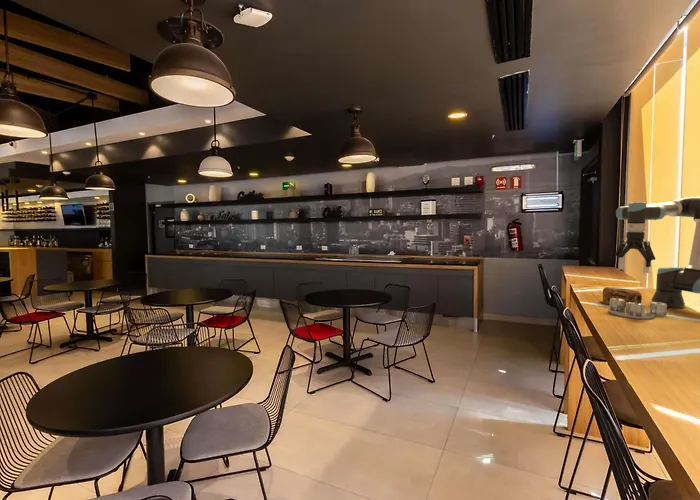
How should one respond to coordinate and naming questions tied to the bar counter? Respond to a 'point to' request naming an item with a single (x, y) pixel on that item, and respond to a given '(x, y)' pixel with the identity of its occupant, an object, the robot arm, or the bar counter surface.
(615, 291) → the bread
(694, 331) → the bar counter surface
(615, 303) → the carrier
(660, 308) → the planet gear
